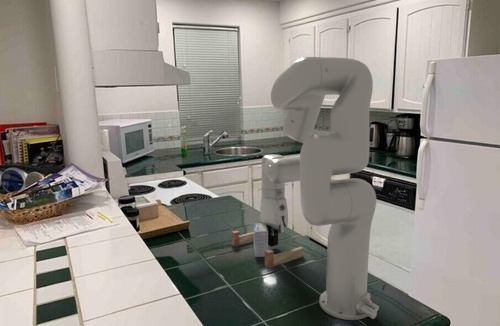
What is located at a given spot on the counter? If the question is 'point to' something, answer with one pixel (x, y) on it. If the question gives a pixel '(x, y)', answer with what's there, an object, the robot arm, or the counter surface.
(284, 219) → the robot arm
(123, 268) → the counter surface
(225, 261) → the counter surface
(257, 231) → the medicine box
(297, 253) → the channel
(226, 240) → the counter surface
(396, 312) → the counter surface
